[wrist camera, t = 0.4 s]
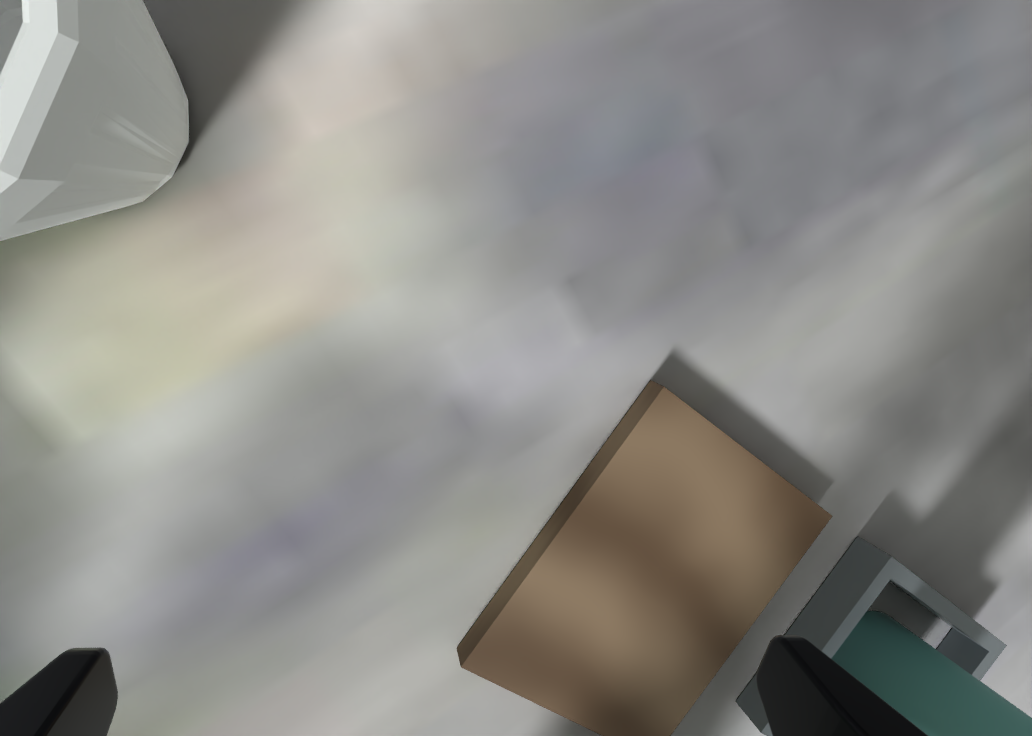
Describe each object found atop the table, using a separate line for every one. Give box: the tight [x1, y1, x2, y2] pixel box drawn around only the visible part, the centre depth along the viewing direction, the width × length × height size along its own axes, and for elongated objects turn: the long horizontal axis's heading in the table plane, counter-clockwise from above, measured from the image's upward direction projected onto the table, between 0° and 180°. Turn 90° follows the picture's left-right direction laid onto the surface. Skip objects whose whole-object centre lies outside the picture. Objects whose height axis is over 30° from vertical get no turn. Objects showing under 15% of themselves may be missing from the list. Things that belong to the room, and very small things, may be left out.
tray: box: [736, 537, 1007, 736], centre depth 30 cm, size 10×10×2 cm
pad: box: [457, 380, 832, 736], centre depth 27 cm, size 14×11×1 cm
